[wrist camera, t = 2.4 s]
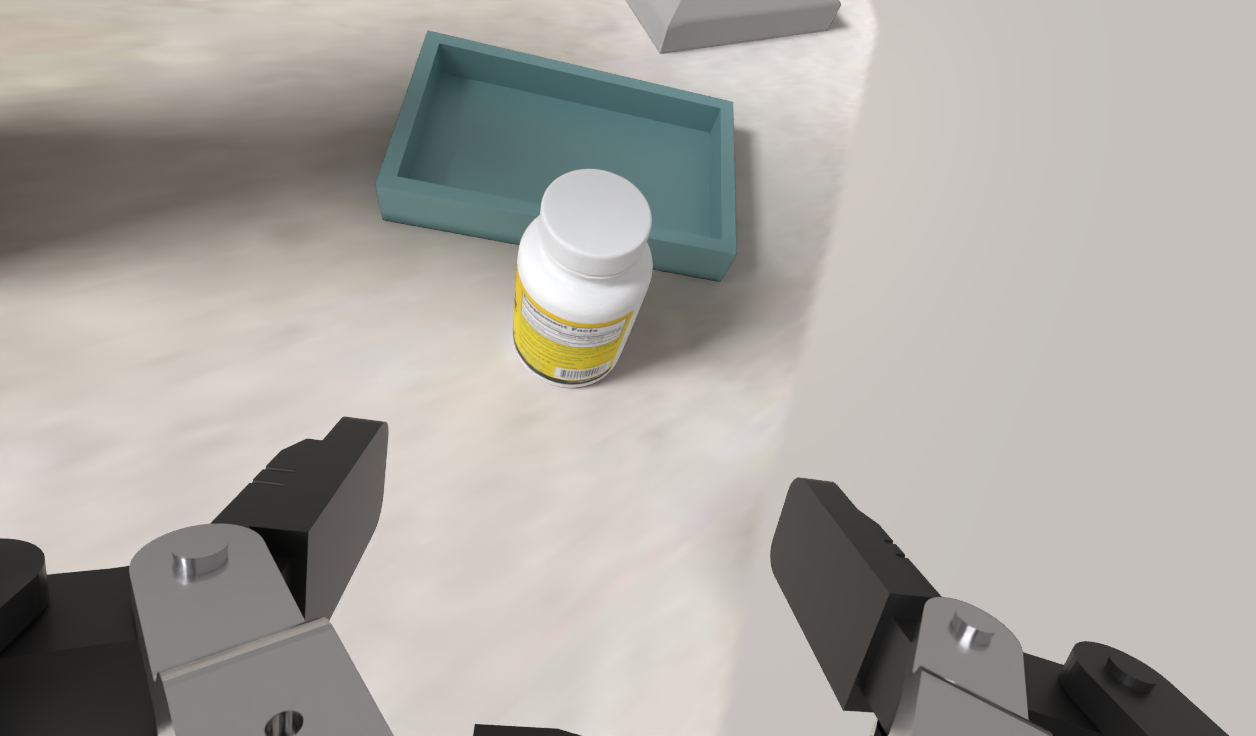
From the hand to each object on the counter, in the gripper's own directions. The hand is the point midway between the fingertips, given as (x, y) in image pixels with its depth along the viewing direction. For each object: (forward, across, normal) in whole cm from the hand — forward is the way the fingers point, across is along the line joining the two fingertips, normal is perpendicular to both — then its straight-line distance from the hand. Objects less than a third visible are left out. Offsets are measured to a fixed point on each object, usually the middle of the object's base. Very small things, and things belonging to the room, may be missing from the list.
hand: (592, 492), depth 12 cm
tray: (+26, +1, -6) cm, 27 cm away
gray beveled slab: (+41, -8, -19) cm, 46 cm away
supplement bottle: (+18, 0, +2) cm, 19 cm away
